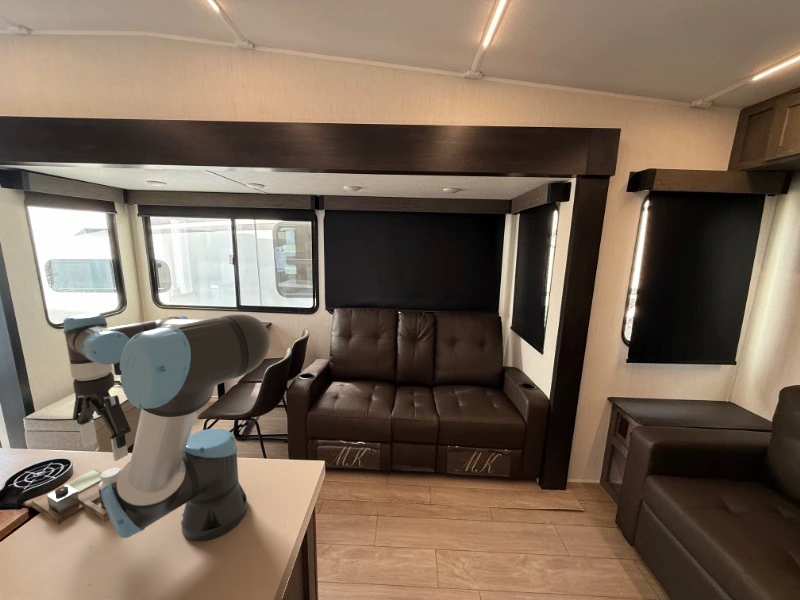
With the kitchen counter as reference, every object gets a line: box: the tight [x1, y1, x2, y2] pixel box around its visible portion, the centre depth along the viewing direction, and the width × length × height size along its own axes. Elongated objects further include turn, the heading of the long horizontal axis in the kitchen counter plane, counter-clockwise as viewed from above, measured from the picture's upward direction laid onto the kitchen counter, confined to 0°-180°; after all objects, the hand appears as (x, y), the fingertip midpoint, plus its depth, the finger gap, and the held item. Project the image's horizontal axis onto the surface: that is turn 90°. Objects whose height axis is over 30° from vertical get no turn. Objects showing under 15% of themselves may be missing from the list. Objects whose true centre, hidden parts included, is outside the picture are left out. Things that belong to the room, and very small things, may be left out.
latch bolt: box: [47, 485, 79, 515], centre depth 86 cm, size 5×4×5 cm
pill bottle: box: [98, 467, 122, 510], centre depth 88 cm, size 5×5×10 cm
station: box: [29, 468, 110, 525], centre depth 89 cm, size 24×14×2 cm, turn 68°
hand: (105, 451), depth 85 cm, fingers open, 13 cm apart
